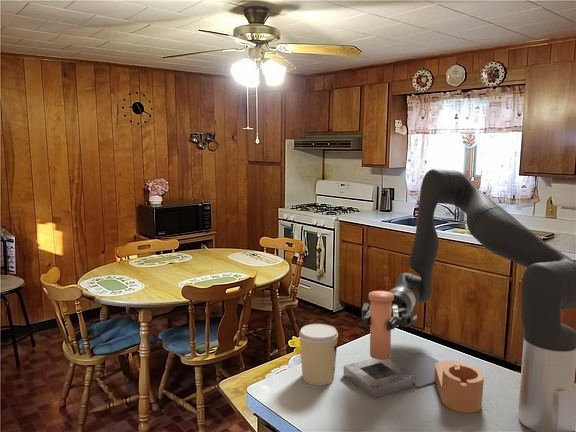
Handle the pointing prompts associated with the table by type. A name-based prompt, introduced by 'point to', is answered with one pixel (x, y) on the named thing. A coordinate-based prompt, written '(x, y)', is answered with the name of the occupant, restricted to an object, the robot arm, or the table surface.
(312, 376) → the coffee cup
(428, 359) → the mat
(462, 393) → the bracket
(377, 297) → the orange flanged cylinder
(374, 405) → the table surface
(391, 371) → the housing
